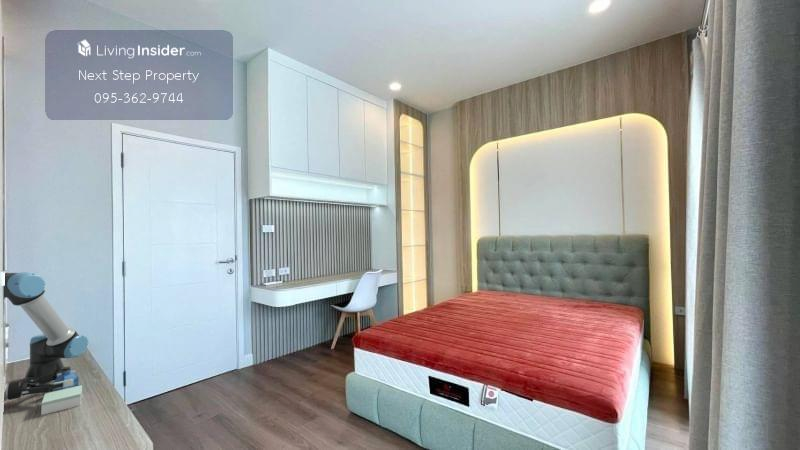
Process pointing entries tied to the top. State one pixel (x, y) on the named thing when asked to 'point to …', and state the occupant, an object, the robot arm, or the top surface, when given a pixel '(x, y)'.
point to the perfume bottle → (66, 378)
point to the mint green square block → (61, 400)
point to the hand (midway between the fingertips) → (74, 377)
